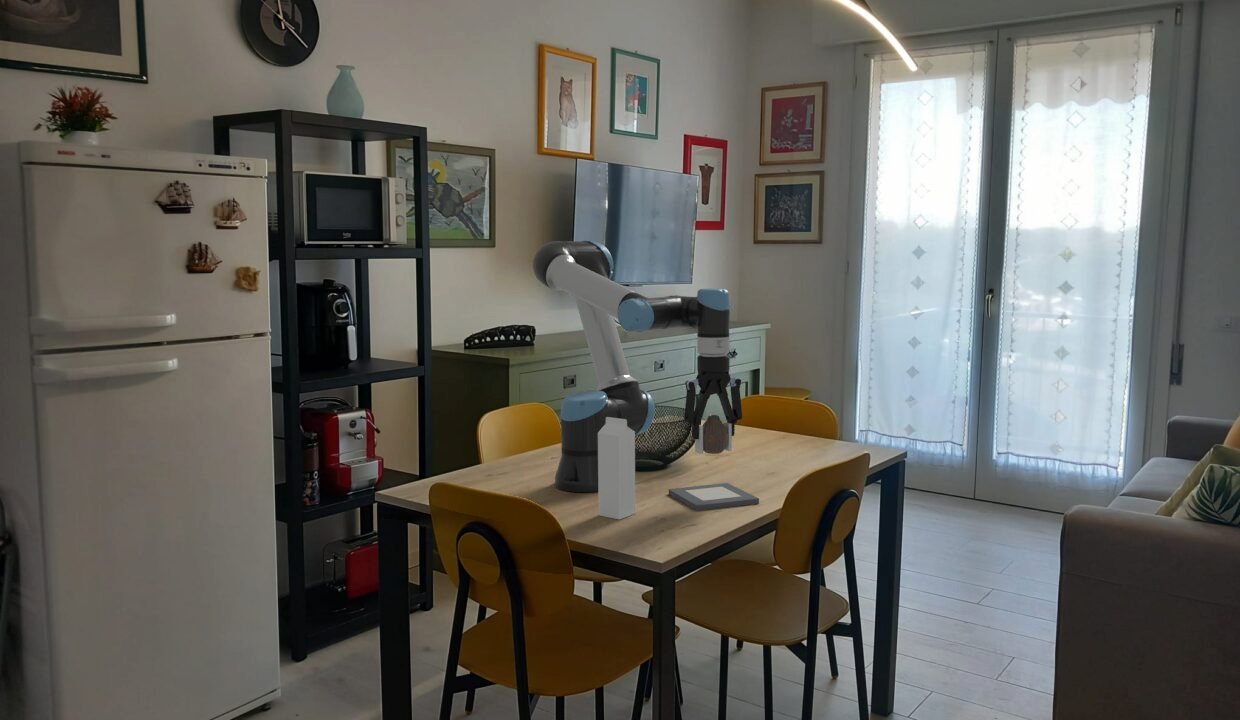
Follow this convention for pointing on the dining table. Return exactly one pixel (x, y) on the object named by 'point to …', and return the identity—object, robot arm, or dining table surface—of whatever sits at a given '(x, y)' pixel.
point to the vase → (714, 435)
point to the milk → (616, 469)
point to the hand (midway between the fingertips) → (713, 450)
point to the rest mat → (713, 496)
